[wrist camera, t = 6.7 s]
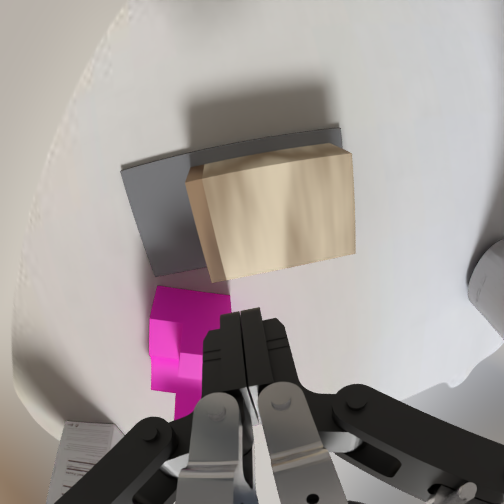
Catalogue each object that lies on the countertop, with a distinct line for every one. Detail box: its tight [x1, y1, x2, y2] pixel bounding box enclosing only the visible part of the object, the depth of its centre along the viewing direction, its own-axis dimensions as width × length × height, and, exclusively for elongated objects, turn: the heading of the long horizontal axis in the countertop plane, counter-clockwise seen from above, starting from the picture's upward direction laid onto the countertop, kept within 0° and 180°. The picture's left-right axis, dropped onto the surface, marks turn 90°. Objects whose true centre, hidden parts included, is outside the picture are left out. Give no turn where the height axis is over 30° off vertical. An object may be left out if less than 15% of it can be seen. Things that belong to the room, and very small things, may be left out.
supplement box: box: [46, 421, 124, 504], centre depth 30 cm, size 10×9×17 cm
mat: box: [120, 128, 343, 277], centre depth 23 cm, size 16×9×1 cm, turn 100°
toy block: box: [149, 286, 232, 420], centre depth 26 cm, size 15×6×8 cm, turn 167°
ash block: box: [185, 143, 355, 283], centre depth 21 cm, size 4×7×10 cm
